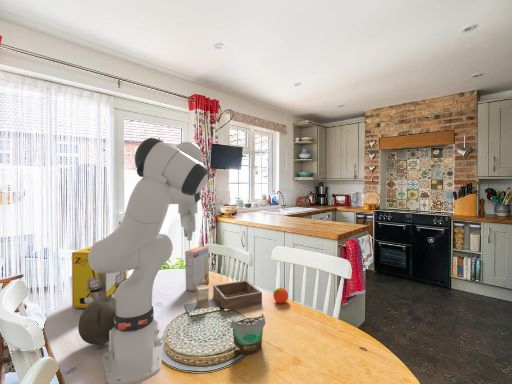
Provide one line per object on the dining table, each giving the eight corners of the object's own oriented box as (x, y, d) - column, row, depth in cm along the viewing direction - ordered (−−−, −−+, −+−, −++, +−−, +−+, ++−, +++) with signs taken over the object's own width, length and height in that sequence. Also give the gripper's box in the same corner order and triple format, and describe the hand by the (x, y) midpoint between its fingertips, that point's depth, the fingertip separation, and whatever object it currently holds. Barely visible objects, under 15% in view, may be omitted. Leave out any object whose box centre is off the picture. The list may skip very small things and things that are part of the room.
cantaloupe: (86, 288, 95) (62, 334, 89) (103, 298, 86) (78, 349, 81) (120, 296, 105) (101, 338, 99) (140, 305, 96) (120, 351, 90)
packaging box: (106, 308, 119) (106, 253, 118) (72, 307, 120) (71, 252, 120) (126, 294, 135) (126, 245, 134) (96, 293, 136) (96, 244, 136)
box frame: (261, 304, 123) (261, 292, 123) (224, 311, 116) (224, 299, 116) (246, 290, 140) (246, 280, 139) (213, 296, 132) (213, 285, 132)
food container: (236, 360, 83) (236, 328, 83) (230, 349, 88) (230, 319, 88) (271, 351, 88) (271, 320, 88) (263, 341, 93) (263, 312, 93)
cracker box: (200, 281, 153) (200, 245, 153) (209, 283, 151) (209, 246, 150) (184, 290, 140) (184, 250, 140) (194, 291, 138) (194, 251, 138)
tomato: (275, 307, 120) (275, 291, 120) (268, 301, 126) (268, 286, 126) (291, 304, 123) (291, 289, 123) (283, 298, 129) (283, 284, 129)
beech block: (208, 308, 118) (208, 288, 118) (198, 310, 116) (198, 289, 116) (205, 304, 122) (205, 284, 122) (196, 305, 120) (196, 286, 120)
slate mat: (221, 310, 117) (221, 309, 117) (189, 316, 111) (189, 315, 111) (213, 299, 128) (213, 299, 128) (184, 305, 122) (184, 304, 122)
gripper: (199, 211, 118) (198, 242, 118) (190, 207, 137) (190, 234, 137) (184, 211, 116) (184, 243, 116) (178, 207, 134) (178, 235, 135)
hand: (187, 238), depth 127 cm, fingers open, 8 cm apart
